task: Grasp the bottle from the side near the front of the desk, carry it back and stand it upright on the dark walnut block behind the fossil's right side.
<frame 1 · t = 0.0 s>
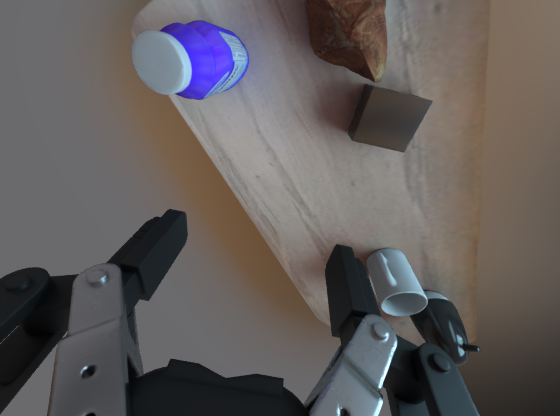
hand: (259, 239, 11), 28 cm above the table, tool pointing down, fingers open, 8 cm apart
bottle: (226, 63, 30), on the table
walnut block: (381, 115, 32), on the table
mug: (382, 255, 49), on the table
fossil: (344, 30, 27), on the table
pump dispenser: (423, 296, 56), on the table
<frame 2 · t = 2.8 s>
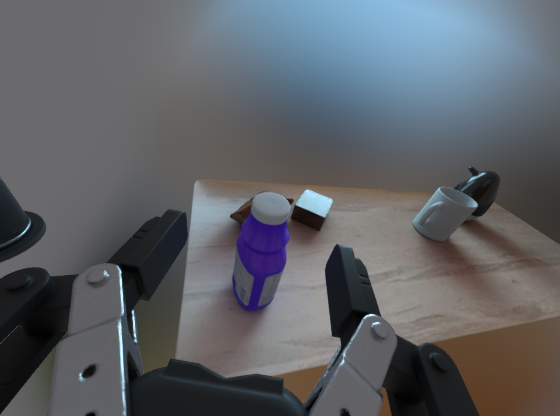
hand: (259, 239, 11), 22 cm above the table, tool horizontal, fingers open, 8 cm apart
bottle: (251, 292, 33), on the table
walnut block: (310, 215, 51), on the table
mug: (424, 231, 55), on the table
fossil: (260, 222, 46), on the table
pump dispenser: (454, 214, 66), on the table
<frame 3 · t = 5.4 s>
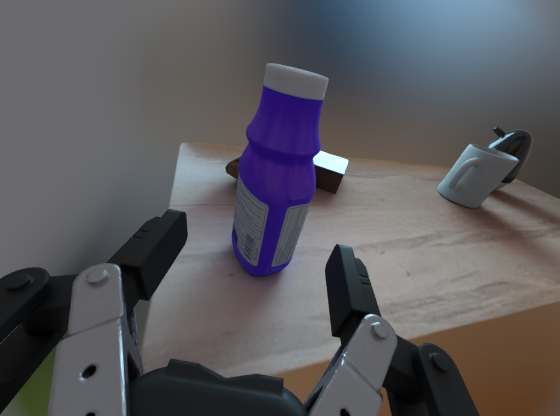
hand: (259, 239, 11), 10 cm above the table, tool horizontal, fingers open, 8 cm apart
bottle: (259, 255, 23), on the table
walnut block: (321, 179, 42), on the table
mug: (452, 198, 48), on the table
fossil: (263, 183, 37), on the table
pump dispenser: (477, 185, 59), on the table
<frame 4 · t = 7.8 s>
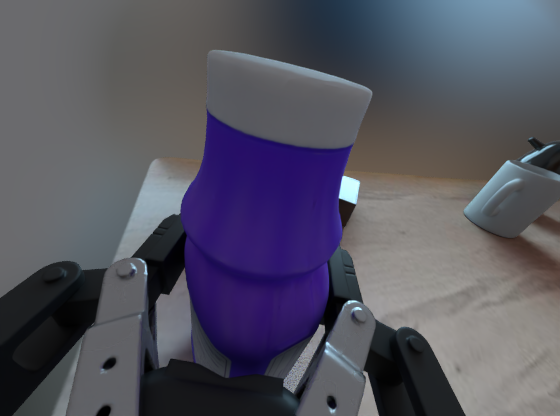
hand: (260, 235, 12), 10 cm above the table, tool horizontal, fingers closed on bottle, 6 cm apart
bottle: (236, 353, 15), on the table, touching gripper
walnut block: (326, 205, 34), on the table
mug: (483, 224, 40), on the table
pump dispenser: (505, 203, 51), on the table
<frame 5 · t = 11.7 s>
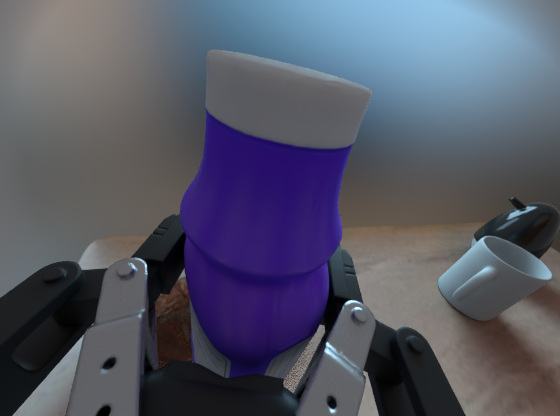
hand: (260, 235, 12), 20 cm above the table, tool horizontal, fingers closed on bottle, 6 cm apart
bottle: (236, 353, 15), point 10 cm above the table, touching gripper
mug: (457, 300, 37), on the table
fossil: (187, 326, 25), on the table
pump dispenser: (486, 259, 48), on the table
when the fingers open (14 cm above the table, at t = 15.5 s): bottle stays where it is, resting on walnut block.
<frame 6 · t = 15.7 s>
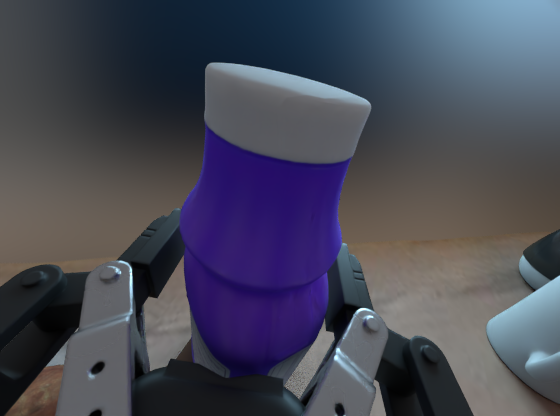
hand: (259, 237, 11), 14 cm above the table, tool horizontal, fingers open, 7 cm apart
bottle: (236, 357, 15), point 4 cm above the table, touching walnut block
mug: (521, 365, 23), on the table
pump dispenser: (541, 288, 35), on the table
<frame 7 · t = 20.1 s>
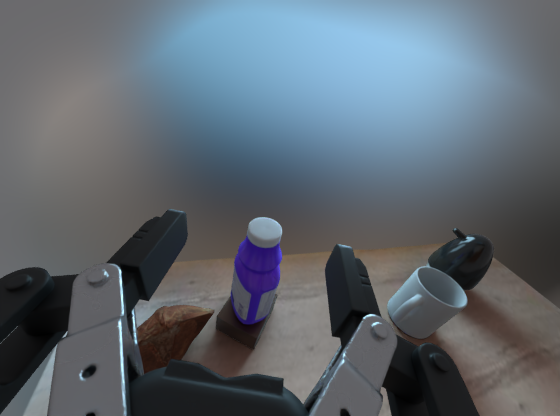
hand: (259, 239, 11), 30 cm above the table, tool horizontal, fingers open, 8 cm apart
bottle: (249, 306, 35), point 4 cm above the table, touching walnut block
walnut block: (246, 317, 37), on the table
mug: (402, 320, 43), on the table
fossil: (167, 345, 32), on the table
pump dispenser: (440, 280, 54), on the table
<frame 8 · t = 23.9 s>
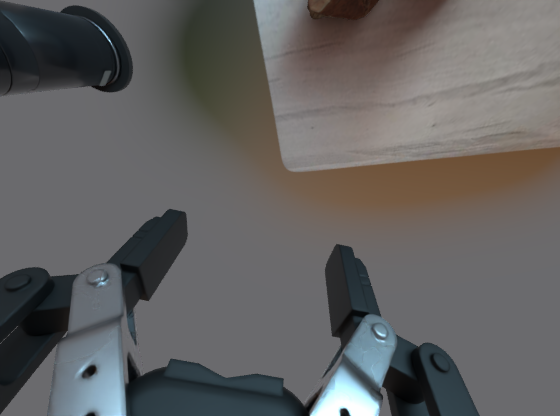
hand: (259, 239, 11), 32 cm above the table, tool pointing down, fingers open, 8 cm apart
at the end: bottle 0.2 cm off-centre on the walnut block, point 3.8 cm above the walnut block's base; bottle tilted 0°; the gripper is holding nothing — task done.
